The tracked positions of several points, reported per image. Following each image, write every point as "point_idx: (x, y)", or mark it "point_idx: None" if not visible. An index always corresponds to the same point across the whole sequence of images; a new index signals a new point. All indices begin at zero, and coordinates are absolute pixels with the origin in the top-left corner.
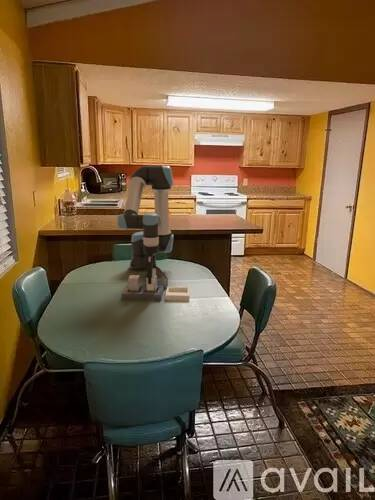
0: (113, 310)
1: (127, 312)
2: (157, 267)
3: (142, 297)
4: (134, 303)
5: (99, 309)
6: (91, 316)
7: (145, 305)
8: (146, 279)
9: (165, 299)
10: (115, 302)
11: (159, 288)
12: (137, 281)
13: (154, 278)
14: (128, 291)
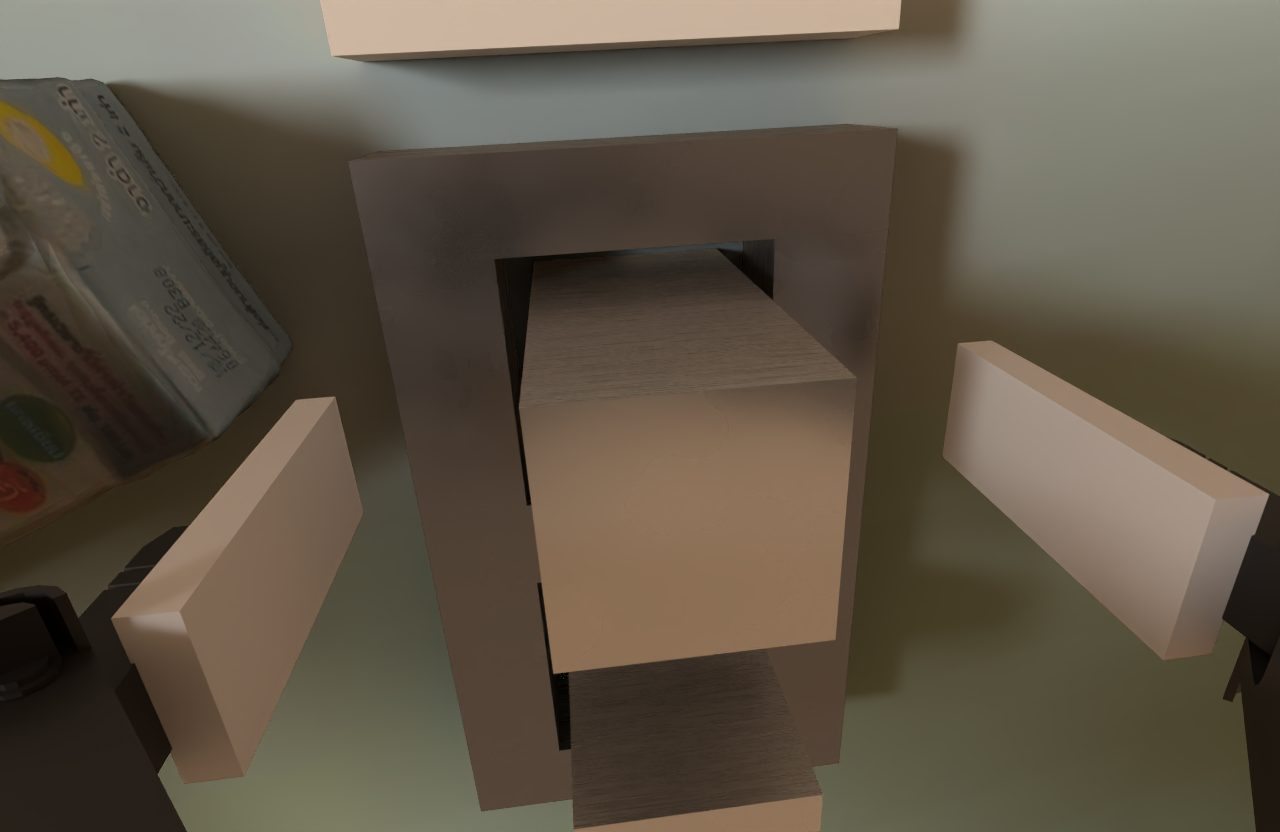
0: (1122, 677)
1: None
2: None
3: None
4: (952, 520)
5: (1069, 797)
6: (1215, 800)
7: (1041, 357)
8: (827, 615)
9: (859, 35)
10: (901, 727)
11: (548, 233)
12: (796, 745)
13: (820, 429)
14: None
